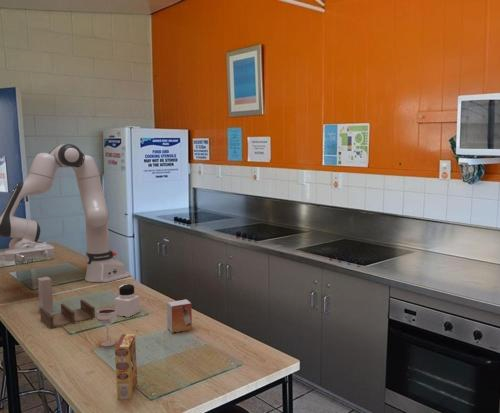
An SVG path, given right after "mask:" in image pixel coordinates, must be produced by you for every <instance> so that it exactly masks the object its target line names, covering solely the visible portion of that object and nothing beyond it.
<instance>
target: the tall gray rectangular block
mask: <svg viewBox="0 0 500 413" xmlns="http://www.w3.org/2000/svg"><path fill="white" fill-rule="evenodd" d="M52 281H53V280H52V278H50V277H49V276H43V277H38V278H37V286H38V287H37V289H38V304H39V307H38V308H39V309H40V308H44V309H45V310H46V311H47V312H48V313H49V314H51V313H54V300H53V298H54V297H53V285H52V283H53V282H52Z"/></svg>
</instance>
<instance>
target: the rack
mask: <svg viewBox="0 0 500 413" xmlns="http://www.w3.org/2000/svg"><path fill="white" fill-rule="evenodd" d="M79 301H80V308H77V309H76V308H75V309H71V308H70V307H69V306H67V305H66V304H65V303H60V313H59V312H58V313H54V314H51V313H48V312H47V311H46V310H45V309H44V308H39V312H40V321H42V322H43V323H44V324H45V325H46V326H47V327H48V328H49V329H51V330H52V329H57V328H60V327H61V328H62V327H63V326H62V325H66V324H70V323H74V324H77V323H76V322H78V323H81V322H80V321H82V322H85V320H87V321H90V320H89V319H91V320H94V319H93V318H95V319H96V310H95V307H94V306H93V305H91V304H90V303H88V302H87V301H86V300H84V299H80V300H79ZM70 325H71V324H70ZM66 326H67V325H66Z"/></svg>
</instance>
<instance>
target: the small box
mask: <svg viewBox="0 0 500 413" xmlns="http://www.w3.org/2000/svg"><path fill="white" fill-rule="evenodd" d="M192 310H193V309H192V303H191V302H190V301H189V300H188V299H181V300H174V301H173V300H172V301H167V302H166V315H167V317H166V322H167V326H166V327H167V330H168V329H169V330H170V331H169V330H168V331H169V332H170V333H171V334H174V332H176V333H180V331H182V332H188V331H192V327H193V326H192V324H193V321H192V319H193V318H192V316H193V314H192V312H193V311H192ZM187 330H188V331H187Z"/></svg>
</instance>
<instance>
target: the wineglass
mask: <svg viewBox="0 0 500 413" xmlns="http://www.w3.org/2000/svg"><path fill="white" fill-rule="evenodd" d="M96 313H97V314H96V320H97V322H98V323H99V324H101V325H103V326H104V327H106V328H105V329H106V339H107V340H105V341H104V340H103V341H101V343H100V345H101V346H102V347H110V346H113V345H115V344H116V341H115V340H112V339H111V340H109V326H110V325H111V324H113V323H114V322H115V321H117V317H118V315H117V313H116V308H115V306H114V307H113V306H105V307H104V306H103V307H101V308H99V309H97V310H96Z"/></svg>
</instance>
